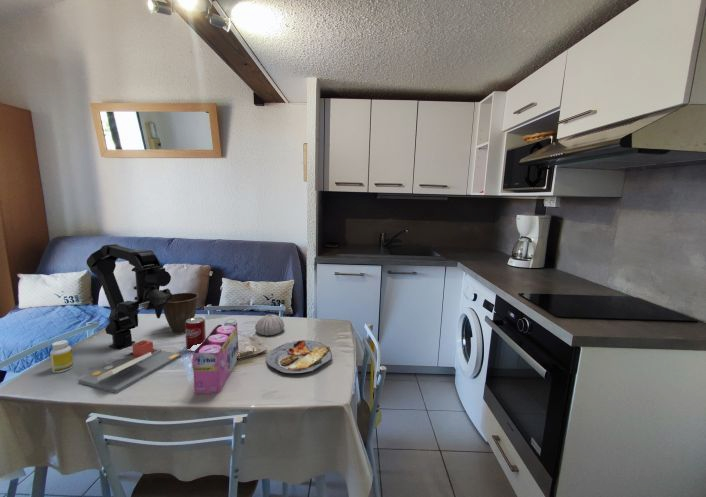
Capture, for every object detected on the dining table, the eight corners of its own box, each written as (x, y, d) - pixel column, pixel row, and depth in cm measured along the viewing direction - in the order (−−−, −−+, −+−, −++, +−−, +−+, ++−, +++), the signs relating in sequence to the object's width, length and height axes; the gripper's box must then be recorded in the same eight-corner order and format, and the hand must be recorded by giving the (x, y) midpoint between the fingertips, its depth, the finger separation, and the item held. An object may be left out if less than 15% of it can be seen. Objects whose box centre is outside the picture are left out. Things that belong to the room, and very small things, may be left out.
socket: (124, 358, 112) (124, 355, 111) (145, 349, 119) (145, 346, 119) (141, 362, 109) (141, 359, 109) (161, 352, 117) (161, 349, 117)
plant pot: (156, 331, 139) (154, 297, 137) (189, 321, 151) (188, 290, 149) (172, 339, 131) (170, 304, 129) (205, 329, 143) (204, 296, 141)
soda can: (197, 353, 120) (196, 324, 118) (182, 350, 121) (180, 322, 120) (210, 345, 127) (208, 317, 125) (194, 343, 128) (193, 316, 127)
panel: (78, 382, 98) (77, 373, 98) (147, 350, 121) (146, 342, 121) (117, 393, 93) (116, 382, 93) (181, 357, 116) (180, 348, 116)
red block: (133, 357, 113) (132, 343, 112) (144, 352, 117) (143, 338, 116) (142, 359, 112) (141, 345, 111) (153, 353, 116) (152, 340, 115)
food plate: (301, 339, 134) (301, 332, 134) (343, 356, 121) (343, 347, 120) (254, 363, 114) (254, 355, 114) (297, 386, 101) (297, 376, 100)
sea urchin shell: (260, 339, 133) (259, 322, 132) (251, 329, 144) (251, 313, 143) (288, 333, 141) (288, 317, 140) (278, 324, 152) (278, 308, 151)
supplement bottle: (77, 366, 108) (74, 340, 106) (58, 374, 103) (55, 347, 101) (67, 363, 109) (64, 338, 108) (48, 371, 104) (45, 344, 103)
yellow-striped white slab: (98, 380, 96) (96, 377, 96) (137, 361, 108) (135, 358, 108) (113, 374, 94) (111, 370, 94) (152, 354, 106) (150, 351, 106)
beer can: (227, 346, 126) (226, 319, 124) (239, 346, 127) (238, 318, 125) (223, 351, 121) (222, 323, 120) (235, 351, 122) (234, 323, 120)
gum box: (219, 356, 118) (218, 323, 116) (240, 356, 119) (239, 323, 117) (193, 393, 94) (191, 353, 92) (219, 393, 95) (218, 352, 93)
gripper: (137, 291, 104) (140, 334, 107) (182, 279, 122) (183, 316, 124) (114, 288, 108) (117, 330, 110) (160, 277, 125) (162, 313, 127)
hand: (147, 322), depth 118 cm, fingers open, 9 cm apart
